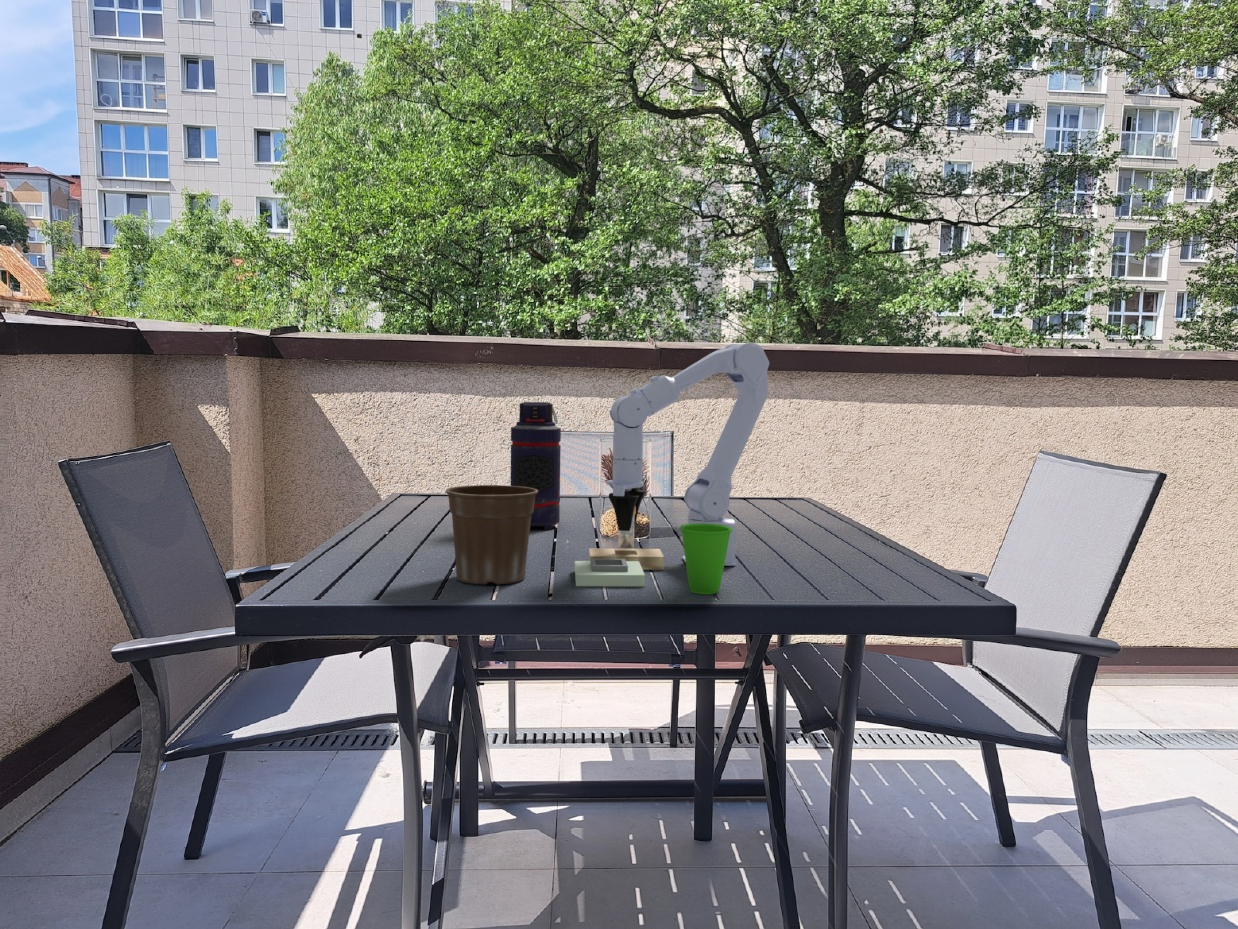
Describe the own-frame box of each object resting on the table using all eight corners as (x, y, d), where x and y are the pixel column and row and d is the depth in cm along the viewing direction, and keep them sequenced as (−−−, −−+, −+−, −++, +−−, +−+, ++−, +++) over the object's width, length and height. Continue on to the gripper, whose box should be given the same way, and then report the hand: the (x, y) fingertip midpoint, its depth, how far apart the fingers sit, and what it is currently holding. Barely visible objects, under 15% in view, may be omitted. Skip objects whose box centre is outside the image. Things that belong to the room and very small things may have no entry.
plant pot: (481, 565, 174) (482, 481, 172) (553, 575, 166) (555, 487, 165) (426, 581, 159) (426, 490, 158) (502, 593, 152) (503, 497, 150)
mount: (659, 561, 181) (659, 548, 181) (663, 569, 173) (664, 556, 173) (588, 560, 180) (589, 548, 180) (590, 569, 172) (590, 556, 172)
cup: (739, 595, 153) (741, 531, 152) (688, 598, 151) (690, 532, 150) (718, 583, 162) (720, 522, 161) (670, 586, 159) (672, 524, 158)
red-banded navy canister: (558, 531, 214) (559, 403, 211) (507, 530, 213) (508, 402, 211) (560, 522, 227) (562, 402, 225) (513, 521, 227) (514, 401, 224)
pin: (633, 545, 178) (635, 504, 177) (635, 548, 174) (636, 507, 174) (616, 545, 178) (617, 504, 177) (617, 548, 174) (618, 507, 173)
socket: (638, 571, 171) (638, 556, 170) (644, 586, 159) (645, 569, 158) (574, 571, 170) (574, 555, 169) (576, 586, 158) (576, 569, 157)
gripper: (616, 455, 182) (615, 522, 184) (597, 461, 168) (596, 533, 170) (651, 456, 181) (650, 523, 182) (634, 462, 167) (633, 535, 168)
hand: (626, 528), depth 176 cm, fingers closed on pin, 3 cm apart
